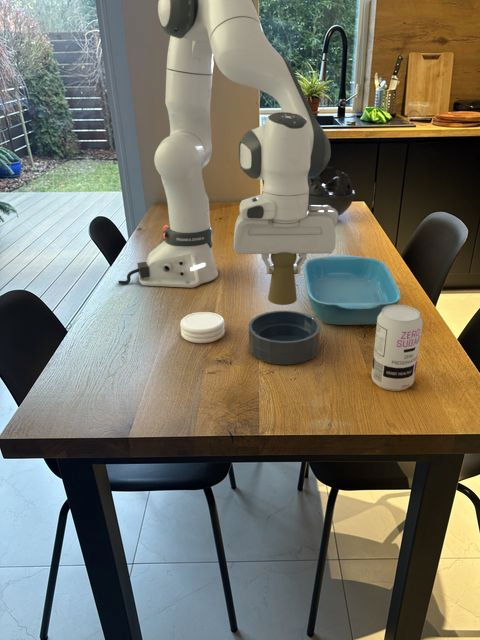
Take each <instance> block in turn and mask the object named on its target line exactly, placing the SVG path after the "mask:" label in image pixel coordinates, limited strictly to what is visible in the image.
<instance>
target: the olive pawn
mask: <svg viewBox="0 0 480 640" xmlns="http://www.w3.org/2000/svg"><path fill="white" fill-rule="evenodd" d="M297 258H298V254H292V253H288V252H281V253H277V254H270V261H271V264H273V265H274V273H273V274H271V278H270V283H269V288H268V289H269V290H268V295H267V300H268V302H269V303H272V304H273V305H278V306H279V305H280V306H288V305H292V304H295V303H296V302H297V301H298V296H297V286H296V277H295V275H296V274H294V270H293V266H294V264H295V263H297Z"/></svg>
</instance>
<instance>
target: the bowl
mask: <svg viewBox="0 0 480 640" xmlns="http://www.w3.org/2000/svg"><path fill="white" fill-rule="evenodd" d="M247 326H248V349H249V352H250V353H251V355H252V356H253V357H255V358H256V359H258V360H260V361H262V362H266V363H269V364H275V365H295V364H300V363H305V362H307V361H309V360H312V359H313V358H314V357H316V356H317V355H318V353H319V352H320V349H321V335H322V332H321V331H322V327H321V323H320V321H318V320H317V319H316V318H315V317H314V316H311V315H310V314H307V313H304V312H300V311H294V310H273V311H267V312H264V313H261V314H257V315H256V316H255V317H253V318H252V319H251V320H250V321H249V323H248V325H247Z"/></svg>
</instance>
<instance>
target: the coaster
mask: <svg viewBox="0 0 480 640" xmlns="http://www.w3.org/2000/svg"><path fill="white" fill-rule="evenodd" d="M179 326H180V335H181V337H182V339H184V340H185V341H187V342H190V343H194V344H207V343H208V344H209V343H213V342H215V341H216V342H217V341H218V340H219V339H221V338H222V337H224V335H225V319H224V317H222V316H221V315H220V314H218V313H215V312H211V311H197V312H193V313H189V314H187V315H185V316H184V317H183V318H182V319H181V320H180V323H179Z"/></svg>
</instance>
